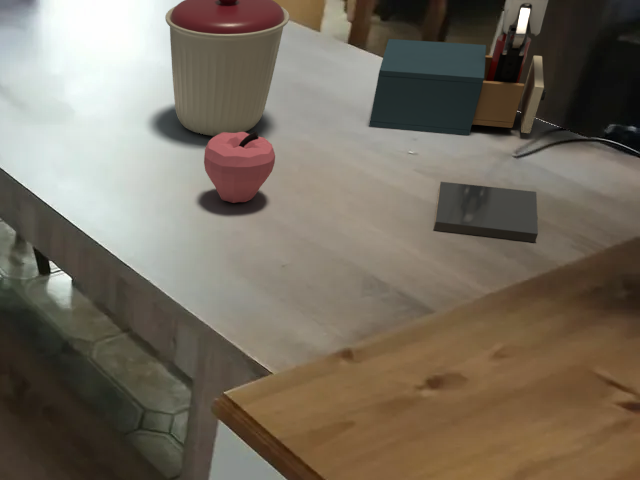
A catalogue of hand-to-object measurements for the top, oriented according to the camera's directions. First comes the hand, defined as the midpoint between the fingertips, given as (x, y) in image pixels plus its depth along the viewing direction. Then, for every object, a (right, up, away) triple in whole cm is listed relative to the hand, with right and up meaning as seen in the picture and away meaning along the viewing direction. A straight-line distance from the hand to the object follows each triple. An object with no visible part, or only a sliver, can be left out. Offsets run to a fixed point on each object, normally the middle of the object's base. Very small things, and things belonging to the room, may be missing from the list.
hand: (504, 71), depth 139 cm
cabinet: (-9, -3, +8) cm, 13 cm away
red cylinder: (0, -4, +3) cm, 5 cm away
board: (-12, -26, -18) cm, 34 cm away
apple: (-43, -22, -11) cm, 50 cm away
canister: (-42, -5, +9) cm, 43 cm away
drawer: (-1, -5, +4) cm, 6 cm away
